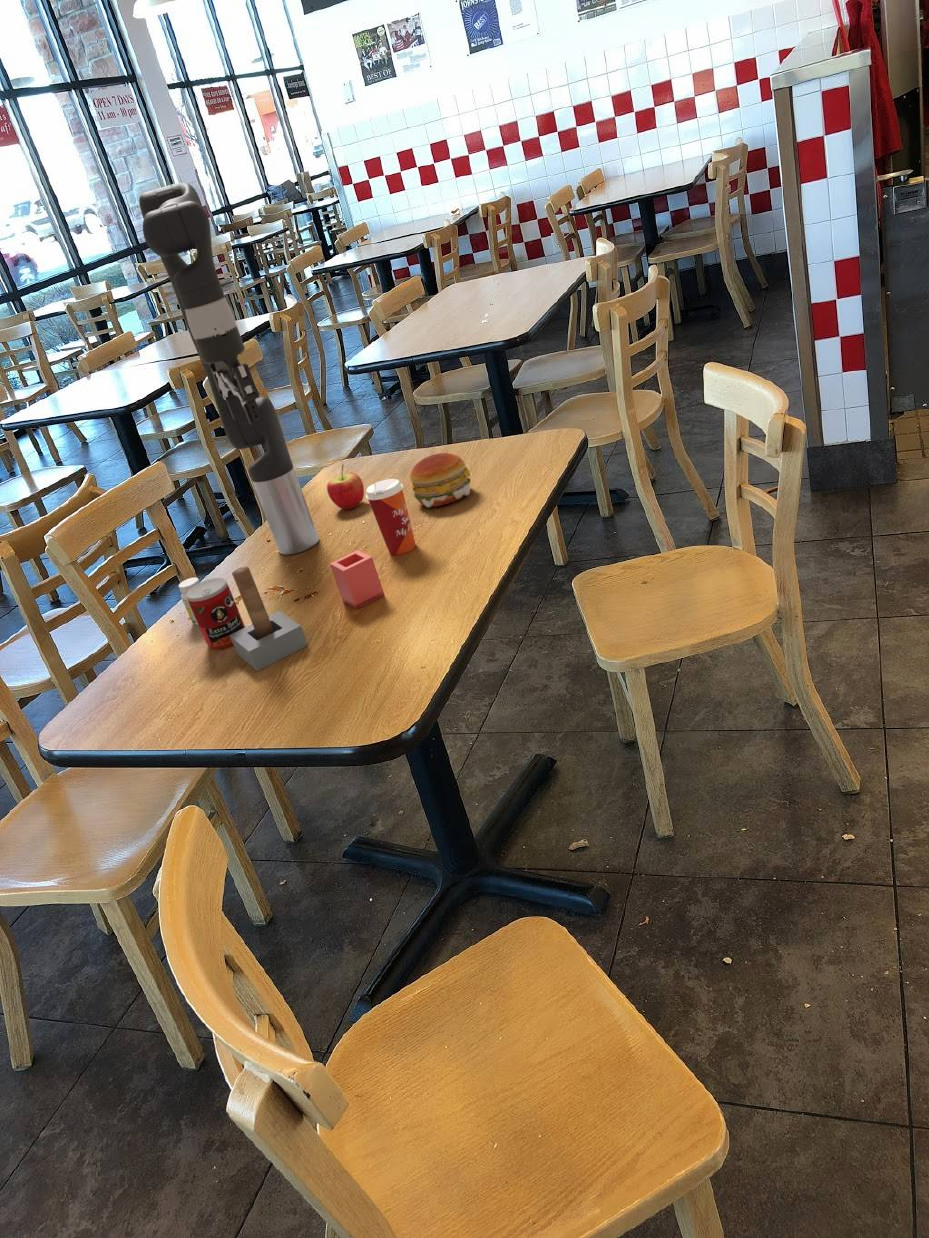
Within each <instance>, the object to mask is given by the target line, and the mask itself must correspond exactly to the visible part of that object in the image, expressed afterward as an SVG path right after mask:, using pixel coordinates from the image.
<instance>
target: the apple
mask: <svg viewBox="0 0 929 1238" xmlns="http://www.w3.org/2000/svg"><path fill="white" fill-rule="evenodd" d="M343 471H344V463H343V464H341V472H343ZM326 485H327V486H326V489H327V490H326V491H327V494H328V496H329V499H330V500H331V501H332V502H333V503H334V505H335V506H336V507H338V508H340V509H342V510H350V509H355V507H358V506H359V505H360V504H361V503H362V502H363V500H364V496H365V495H364V494H365V488H364V487H365V486H364V484H363V480H362V478H361V477H360V476H359V475H358V473H355V472H346V473H341V474H338V475H337V476H335V477H333V478H332V479H330V481H329V482H328V483H327V484H326Z"/></svg>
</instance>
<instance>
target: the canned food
mask: <svg viewBox="0 0 929 1238" xmlns="http://www.w3.org/2000/svg"><path fill="white" fill-rule="evenodd" d="M186 597H187V600H188V602H189V605H190V607H191V609H192V612H193V614H194V616H195V618H196V621H197V623H198V625H197V626H198V627H199V629H200V631H201V634H202V636H203V638H204V641H205V644H207V647H209V648H210V649H212V650H224V649H228V648H231V647H234V645H233V643H232V640H231V638H230V635H231V634H233V633H235V632H237V631H239V630H241V629H243V628H245V627H246V625H245V622H244V620H243V618H242V616H241V613H240V611H239V609H238V605H237V603H236V601H235V599H234V596H233V593H232V590H231V589H230V586H229V584H228V582H227V580H226V579H225V578H223V577H214V578H210V579H207V580H204V581H200V583H199V584H197V585H195V586H193V587H192V588H191V589H190V590H189V591H188V592H187V594H186Z"/></svg>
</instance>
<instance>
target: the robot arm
mask: <svg viewBox="0 0 929 1238" xmlns="http://www.w3.org/2000/svg"><path fill="white" fill-rule="evenodd" d="M138 203H139V209H140V212H141V215H142V216H141V217H142V218H143V221H142V233H143V234H142V235H143V237H144V241H145V243H146V244H147V247H148V248H150V250H151V251H152V252H153V253H154V254H155V255H157V256H159V257H160V260H161V262H162V263H163V267H164V268H165V271H166V273H167V276H168V277H169V280H170V283H171V285H172V289H173V291H174V293H175V296H176V299H177V303H178V305H179V308H180V310H181V314H182V316H183V317H182V318H183V319H184V320H183V321H184V322H185V324H186V328H187V331H188V333H189V335H190V338H191V340H192V343H193V345H194V347H195V350H196V352H197V354H198V357H199V359H200V362H201V364H202V367H203V369H204V371H205V375H206V377H207V380H208V383H209V385H210V388H211V392H212V395H213V398H214V402H215V404H216V408H217V411H218V414H219V418H220V420H221V423H222V427H223V429H224V432H225V435H226V437H227V439H228V441H229V443H230V444H231V446H232V447H233V448H234V449H236V450H243V449H248V448H252V447H255V446H259V445H264V444H267V448H268V449H267V451H265V453H264V454H262V455H261V456H260V457H258V458H257V459H255V460H254V461H253V462H252V463H251V464H250V465H249V467H248V474H249V477H250V480H251V481H252V484H253V487H254V490H255V493H256V494H257V498H258V500H259V503H260V506H261V508H262V510H263V513H264V515H265V518H266V521H267V524H268V526H269V528H270V532H271V534H272V537H273V540H274V542H275V545H276V547H277V550H278V552H279V554H281V555H286V556H289V555H294V554H299V553H301V552H305V551H306V550H308V549H310V548H312V547H314V546H315V545H316V544H317V543H318V542H319V540H320V538H319V534H318V532H317V528H316V527H315V524H314V521H313V518H312V515H311V512H310V510H309V506H308V504H307V501H306V499H305V496H304V492H303V490H302V487H301V485H300V482H299V479H298V476H297V474H296V471H295V468H294V465H293V462H292V459H291V456H290V455H291V454H290V452H289V449H288V446H287V443H286V440H285V438H284V434H283V431H282V426H281V424H280V420H279V417H278V414H277V411H276V409H275V406H274V405H273V403H272V400H270V399H269V398H267V397H266V396H261V397H260V393H259V391H258V389H257V386H256V383H255V381H254V377H253V375H252V373H251V371H250V367H249V364H247V362H246V363H243V364H241V362H240V360H239V359H238V357H239V355H241V354H243V353H244V352H245V350H246V347H245V344H244V342H243V339H242V335H241V334H240V330H239V328H238V325H237V322H236V319H235V317H234V314H233V312H232V308H231V306H230V304H229V302H228V300H227V299H226V297H225V293H224V291H223V288H222V284H221V282H220V279H219V276H218V273H217V270H216V266H215V262H214V255H213V249H212V247H213V246H212V233H211V231H212V230H211V224H210V219H209V218H210V217H209V216H208V213H207V212H206V210H205V209H204V206H203V204H202V200H201V198H200V196H199V193H198V192H197V191H196V189H195V187H194V186H192V184H190V183H188V182H176V183H172V184H169V185H166V186H163V187H159V188H156V189H152V190H148V191H145V192H143V193H142V194H140V196H139V200H138ZM191 250H196V258H195V260H194V261H193V262H192V263H190V264H189V265H188V263H186V262H185V260H184V259H183V258H182V257H181V255H180V254H181V253H185V252H189V251H191Z"/></svg>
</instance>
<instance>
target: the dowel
mask: <svg viewBox="0 0 929 1238" xmlns="http://www.w3.org/2000/svg"><path fill="white" fill-rule="evenodd" d="M231 574H232V577H233V580H234V582H235V584H236V588H237V589H238V592H239V594H240V596H241V599H242V601H243V603H244V606H245V609H246V611H247V614H248V616H249V618H250V622H251V624H253V626H254V629H255V631H256V634H257V636H258V639H259V640H260V639H262V638H264V637H266V636H268V635H270V634H272V633H274V629H273V627H272V624H271V622H270V619H269V617H268V616H269V615H268V612H267V609H266V607H265V605H264V602H263V600H262V598H261V595H260V592H259V589H258V587H257V584H256V582H255V579H254V576H253V575H252V572H251V570H250V567H249V566H242V567H239V568H236V569H235V570H233V571H232V572H231Z"/></svg>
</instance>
